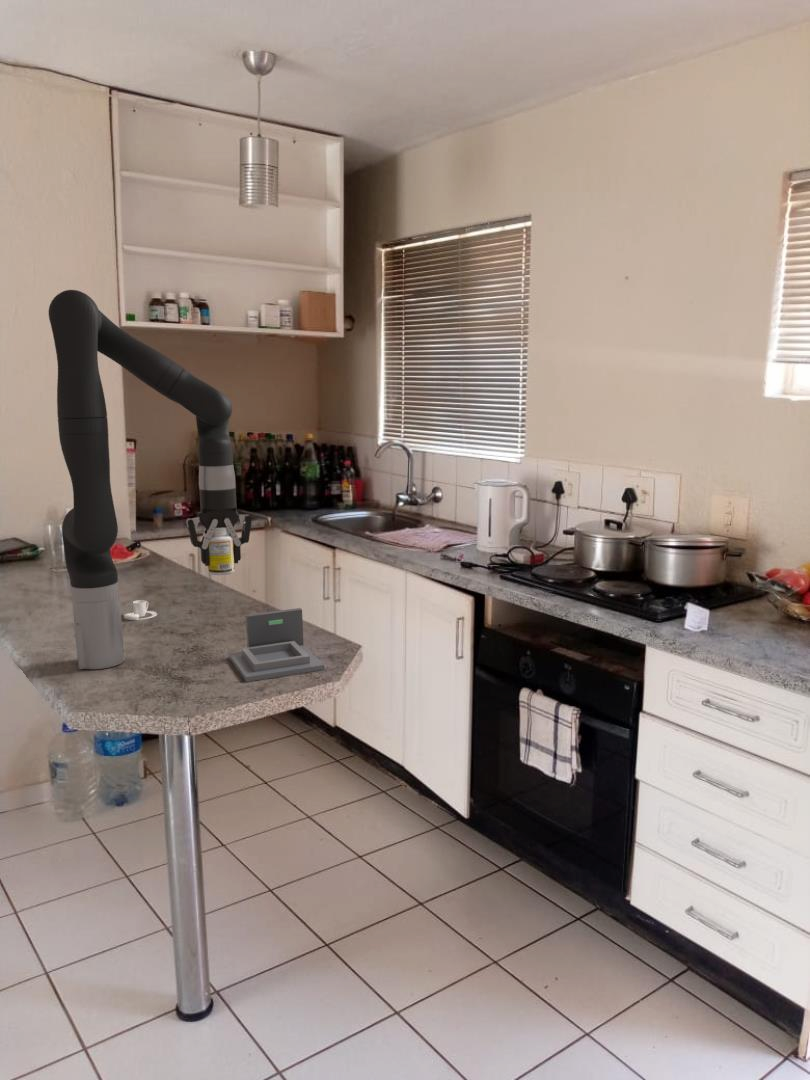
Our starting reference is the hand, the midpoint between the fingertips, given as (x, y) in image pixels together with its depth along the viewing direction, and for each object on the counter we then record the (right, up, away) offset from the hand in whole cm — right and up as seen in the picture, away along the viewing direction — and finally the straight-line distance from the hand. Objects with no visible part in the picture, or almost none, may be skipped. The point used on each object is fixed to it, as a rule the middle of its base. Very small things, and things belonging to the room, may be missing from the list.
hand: (221, 563), depth 182 cm
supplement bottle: (0, -2, 0) cm, 2 cm away
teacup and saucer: (-30, -15, +31) cm, 45 cm away
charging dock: (+13, -21, -7) cm, 25 cm away
